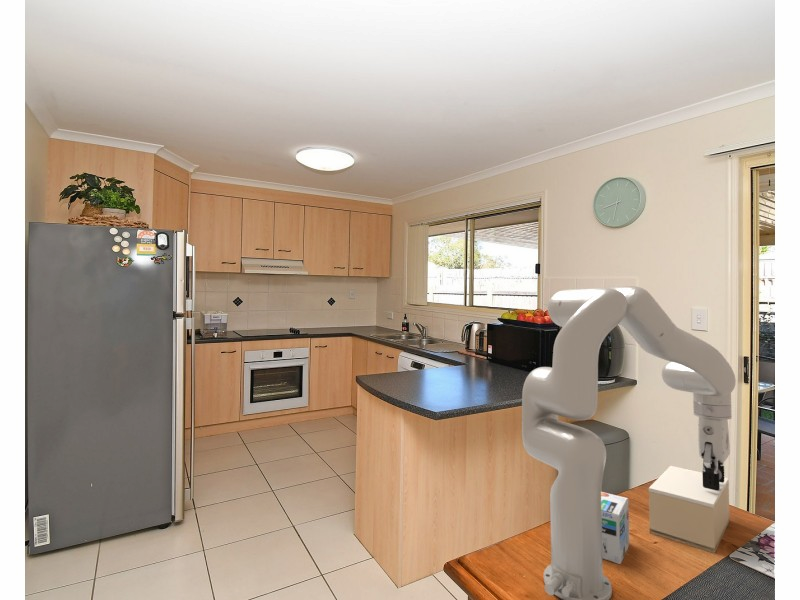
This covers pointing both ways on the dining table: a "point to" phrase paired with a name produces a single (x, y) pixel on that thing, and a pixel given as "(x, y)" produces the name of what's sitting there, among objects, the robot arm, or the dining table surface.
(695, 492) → the flap
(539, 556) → the dining table surface
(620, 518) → the light bulb box
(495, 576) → the dining table surface
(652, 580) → the dining table surface
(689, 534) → the beige box
